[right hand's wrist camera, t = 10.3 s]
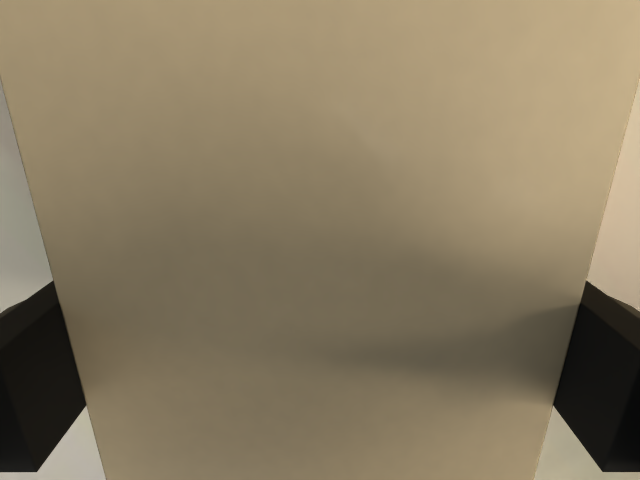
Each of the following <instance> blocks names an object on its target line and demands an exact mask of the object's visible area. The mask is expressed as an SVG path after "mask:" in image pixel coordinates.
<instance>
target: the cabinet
mask: <svg viewBox="0 0 640 480" xmlns="http://www.w3.org/2000/svg"><path fill="white" fill-rule="evenodd" d="M639 78H640V0H0V80H1V83H2V87H3V91H4V95H5V99H6V102H7V106H8V110H9V114H10V117H11V121H12V125H13V129H14V133H15V136H16V140H17V144H18V148H19V152H20V155H21V159H22V163H23V167H24V170H25V174H26V178H27V182H28V186H29V189H30V193H31V197H32V201H33V204H34V208H35V212H36V216H37V220H38V223H39V227H40V231H41V235H42V239H43V242H44V246H45V250H46V254H47V257H48V261H49V265H50V269H51V273H52V276H53V280H54V284H55V288H56V292H57V295H58V299H59V303H60V307H61V310H62V314H63V318H64V322H65V326H66V329H67V333H68V337H69V341H70V345H71V348H72V352H73V356H74V360H75V363H76V367H77V371H78V375H79V379H80V382H81V386H82V390H83V394H84V398H85V401H86V405H87V409H88V413H89V416H90V420H91V424H92V428H93V432H94V435H95V439H96V443H97V447H98V451H99V454H100V458H101V462H102V466H103V469H104V473H105V477H106V480H533V479H534V476H535V472H536V468H537V464H538V461H539V457H540V453H541V449H542V445H543V442H544V438H545V434H546V430H547V426H548V423H549V419H550V415H551V411H552V408H553V404H554V400H555V396H556V392H557V389H558V385H559V381H560V377H561V373H562V370H563V366H564V362H565V358H566V355H567V351H568V347H569V343H570V339H571V336H572V332H573V328H574V324H575V320H576V317H577V313H578V309H579V305H580V302H581V298H582V294H583V290H584V286H585V283H586V279H587V275H588V271H589V267H590V264H591V260H592V256H593V252H594V249H595V245H596V241H597V237H598V233H599V230H600V226H601V222H602V218H603V214H604V211H605V207H606V203H607V199H608V196H609V192H610V188H611V184H612V180H613V177H614V173H615V169H616V165H617V162H618V158H619V154H620V150H621V146H622V143H623V139H624V135H625V131H626V127H627V124H628V120H629V116H630V112H631V109H632V105H633V101H634V97H635V93H636V90H637V86H638V82H639Z"/></svg>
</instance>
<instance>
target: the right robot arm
mask: <svg viewBox="0 0 640 480" xmlns="http://www.w3.org/2000/svg"><path fill="white" fill-rule="evenodd" d="M85 406H86V401H85V398H84V394H83V390H82V386H81V382H80V379H79V375H78V371H77V367H76V363H75V360H74V356H73V352H72V348H71V345H70V341H69V337H68V333H67V329H66V326H65V322H64V318H63V314H62V310H61V307H60V303H59V299H58V295H57V292H56V288H55V284H54V280H53V281H52V282H50V283H49V284H48V285H46V286H45V287H43V288H42V289H41V290H39V291H38V292H36V293H35V294H34V295H32V296H31V297H29V298H28V299H27V300H25V301H22V302H20V303H18V304H16V305H14V306H11V307H9V308H7V309H6V310H5V311H3V312H2V313H0V472H37V471H38V470H39V468H40V467H41V466H42V464H43V463H44V462H45V460H46V459H47V458H48V456H49V455H50V454H51V452H52V451H53V450H54V448H55V447H56V445H57V444H58V443H59V441H60V440H61V439H62V437H63V436H64V435H65V433H66V432H67V431H68V429H69V428H70V427H71V425H72V424H73V423H74V421H75V420H76V418H77V417H78V416H79V414H80V413H81V412H82V410H83V409H84V408H85ZM553 406H554V407H555V408H556V410H557V411H558V412H559V414H560V415H561V416H562V418H563V419H564V420H565V422H566V423H567V424H568V426H569V427H570V429H571V430H572V431H573V433H574V434H575V435H576V437H577V438H578V439H579V441H580V442H581V443H582V445H583V446H584V447H585V449H586V450H587V451H588V453H589V454H590V456H591V457H592V458H593V460H594V461H595V462H596V464H597V465H598V466H599V468H600V469H601V470H602V472H640V312H639V311H638V310H636V309H635V308H633V307H632V306H630V305H628V304H625V303H623V302H621V301H619V300H616V299H614V298H612V297H610V296H607V295H606V294H605V293H603V292H602V291H600V290H599V289H598V288H596V287H595V286H593V285H592V284H591V283H589V282H588V281H586V283H585V286H584V290H583V294H582V298H581V302H580V305H579V309H578V313H577V317H576V320H575V324H574V328H573V332H572V336H571V339H570V343H569V347H568V351H567V355H566V358H565V362H564V366H563V370H562V373H561V377H560V381H559V385H558V389H557V392H556V396H555V400H554V404H553Z"/></svg>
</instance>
